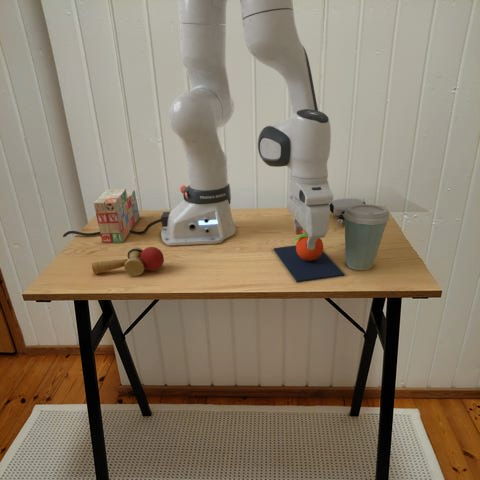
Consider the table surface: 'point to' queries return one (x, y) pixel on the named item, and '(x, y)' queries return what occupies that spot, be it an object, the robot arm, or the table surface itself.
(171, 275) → the table surface
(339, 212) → the robot toy
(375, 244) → the disposable coffee cup
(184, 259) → the table surface
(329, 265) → the cloth
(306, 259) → the clementine
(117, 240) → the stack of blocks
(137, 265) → the kendama
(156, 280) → the table surface
